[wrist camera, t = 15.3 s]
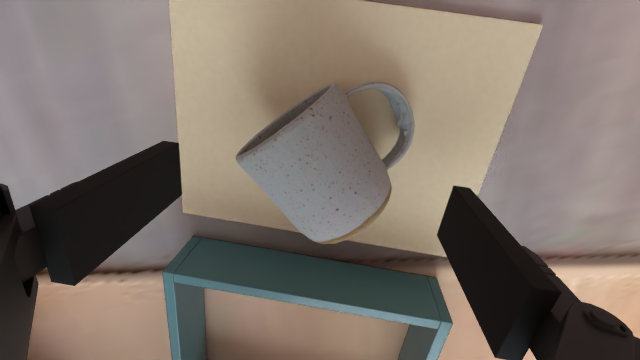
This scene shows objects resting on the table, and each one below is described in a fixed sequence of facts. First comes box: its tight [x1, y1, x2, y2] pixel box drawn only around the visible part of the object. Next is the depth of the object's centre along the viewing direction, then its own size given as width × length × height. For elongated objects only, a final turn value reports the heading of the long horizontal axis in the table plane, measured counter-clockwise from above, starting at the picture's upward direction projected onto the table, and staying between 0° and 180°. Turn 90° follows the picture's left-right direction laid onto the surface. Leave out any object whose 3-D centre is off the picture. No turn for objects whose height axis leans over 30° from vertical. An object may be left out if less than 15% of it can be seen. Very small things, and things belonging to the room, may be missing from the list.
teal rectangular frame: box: [162, 236, 453, 360], centre depth 29 cm, size 23×19×5 cm
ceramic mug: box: [236, 82, 415, 244], centre depth 19 cm, size 11×8×8 cm
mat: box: [169, 0, 543, 257], centre depth 23 cm, size 24×18×1 cm
